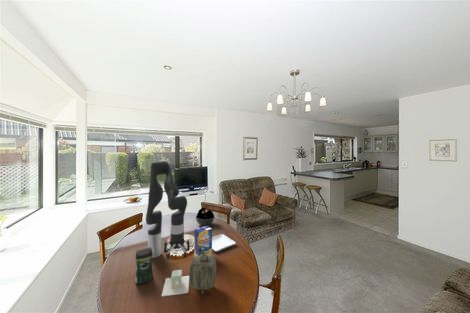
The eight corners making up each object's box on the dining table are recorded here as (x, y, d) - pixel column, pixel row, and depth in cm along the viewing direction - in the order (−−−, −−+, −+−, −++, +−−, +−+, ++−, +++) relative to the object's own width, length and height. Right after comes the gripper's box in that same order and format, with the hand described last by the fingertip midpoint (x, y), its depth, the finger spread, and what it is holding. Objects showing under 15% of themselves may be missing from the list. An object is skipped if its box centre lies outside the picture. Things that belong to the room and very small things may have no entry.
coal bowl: (194, 223, 201) (195, 206, 200) (212, 221, 207) (212, 205, 206) (196, 230, 182) (196, 211, 181) (216, 228, 188) (216, 210, 187)
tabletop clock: (216, 285, 106) (216, 242, 106) (215, 297, 97) (215, 251, 97) (191, 285, 105) (192, 243, 105) (188, 297, 96) (188, 251, 96)
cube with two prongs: (172, 282, 107) (172, 270, 107) (181, 281, 108) (181, 269, 108) (171, 289, 102) (171, 276, 102) (180, 287, 103) (181, 275, 103)
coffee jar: (151, 273, 116) (152, 244, 115) (153, 280, 109) (153, 250, 109) (134, 278, 110) (134, 248, 110) (135, 286, 104) (135, 254, 104)
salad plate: (215, 255, 138) (215, 250, 138) (201, 244, 155) (202, 240, 155) (236, 246, 152) (236, 242, 152) (222, 237, 168) (222, 233, 168)
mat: (165, 279, 110) (165, 278, 110) (189, 276, 113) (189, 275, 113) (161, 296, 97) (161, 296, 97) (188, 293, 99) (188, 292, 99)
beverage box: (211, 258, 133) (212, 228, 133) (198, 263, 126) (198, 232, 126) (207, 253, 139) (207, 225, 138) (194, 259, 132) (194, 229, 132)
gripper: (190, 227, 110) (189, 253, 110) (165, 229, 107) (165, 255, 107) (189, 232, 102) (189, 261, 103) (163, 234, 99) (162, 263, 100)
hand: (176, 258), depth 105 cm, fingers open, 8 cm apart
